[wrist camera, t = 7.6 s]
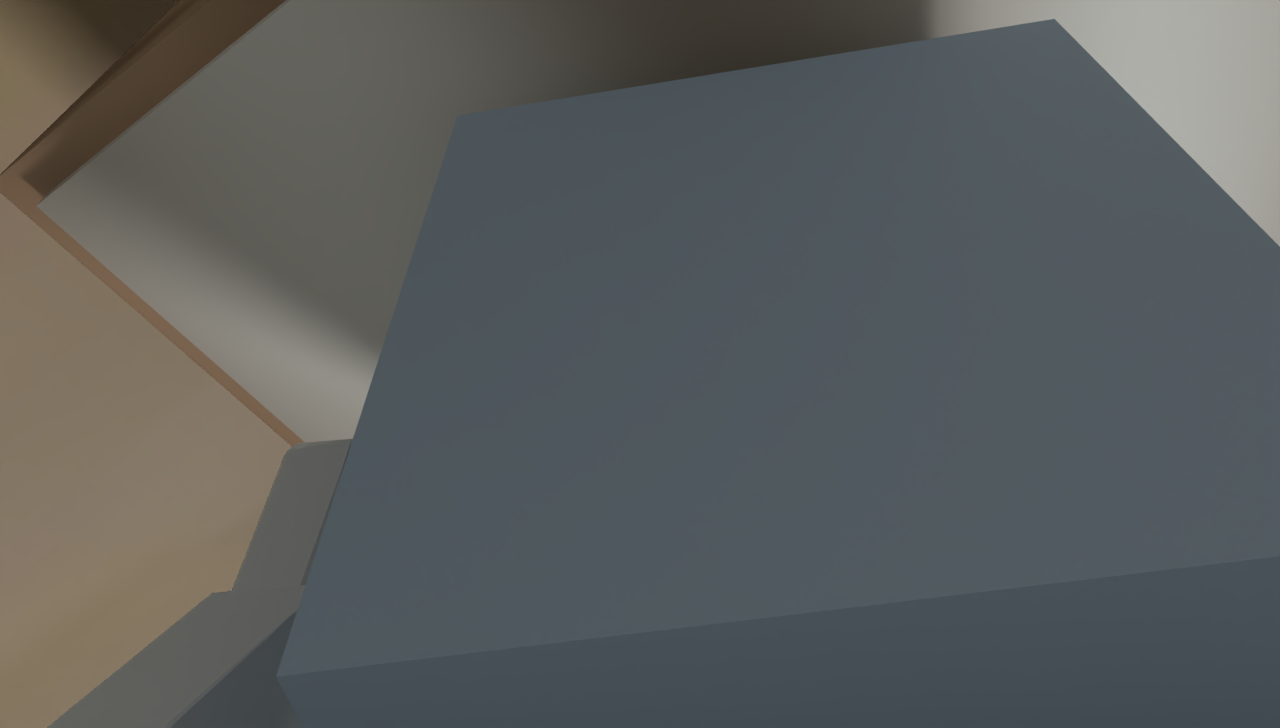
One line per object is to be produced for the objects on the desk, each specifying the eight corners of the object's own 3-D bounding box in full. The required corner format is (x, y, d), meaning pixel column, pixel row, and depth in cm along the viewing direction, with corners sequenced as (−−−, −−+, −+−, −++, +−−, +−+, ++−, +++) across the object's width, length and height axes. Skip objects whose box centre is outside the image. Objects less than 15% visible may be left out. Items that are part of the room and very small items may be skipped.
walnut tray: (592, 437, 21) (582, 717, 16) (180, -2, 16) (-24, 197, 11) (1223, 79, 17) (1481, 296, 12) (927, -634, 12) (1146, -779, 7)
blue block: (572, 538, 12) (534, 1170, 7) (456, 115, 10) (274, 675, 5) (1033, 480, 12) (1317, 1107, 7) (1054, 18, 9) (1553, 523, 4)
